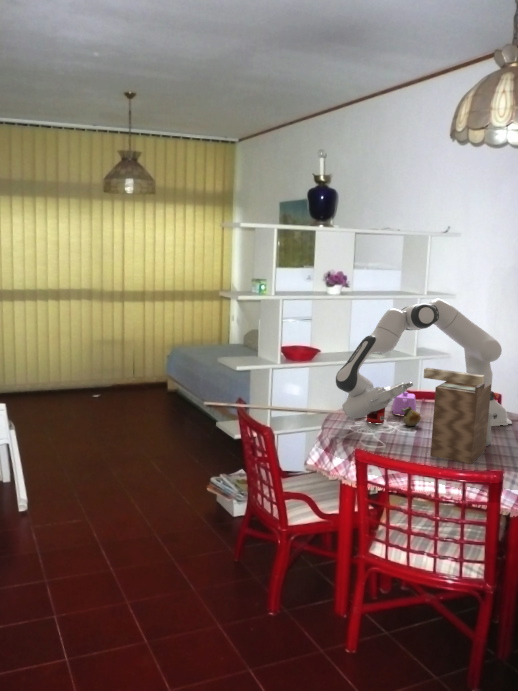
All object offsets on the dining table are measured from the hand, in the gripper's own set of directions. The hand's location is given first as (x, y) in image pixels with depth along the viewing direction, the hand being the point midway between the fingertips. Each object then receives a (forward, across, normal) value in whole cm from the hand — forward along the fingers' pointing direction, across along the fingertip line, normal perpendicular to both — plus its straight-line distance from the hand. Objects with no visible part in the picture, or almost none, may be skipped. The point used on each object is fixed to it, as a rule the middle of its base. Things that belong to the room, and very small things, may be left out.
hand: (407, 385), depth 267 cm
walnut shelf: (+9, -5, +30) cm, 32 cm away
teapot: (-23, +38, +12) cm, 46 cm away
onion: (-15, +20, +17) cm, 30 cm away
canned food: (-27, +16, +9) cm, 33 cm away
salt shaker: (+14, +12, +33) cm, 38 cm away
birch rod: (+18, 0, +5) cm, 18 cm away
